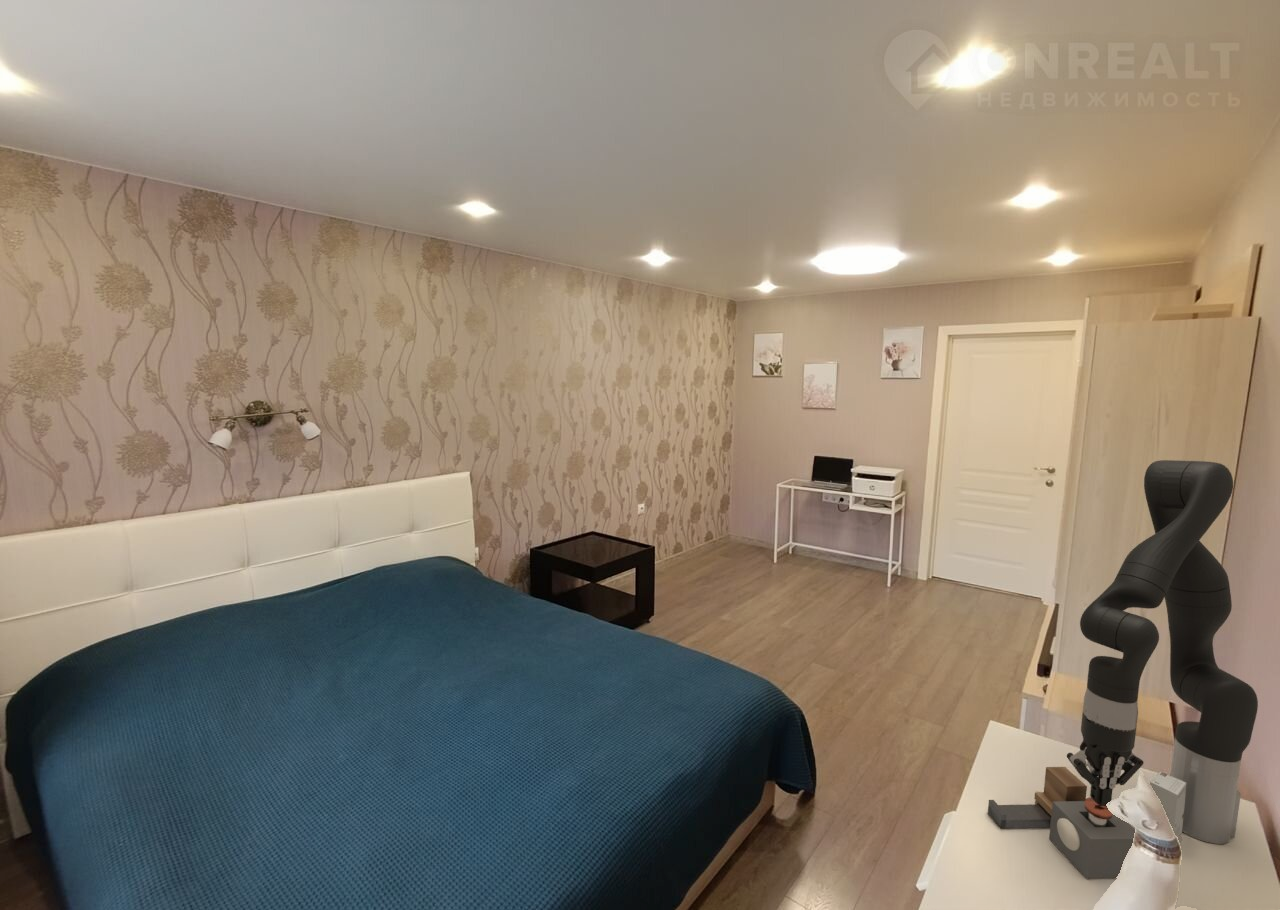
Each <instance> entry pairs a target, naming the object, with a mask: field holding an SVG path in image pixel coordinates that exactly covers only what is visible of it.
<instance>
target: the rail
mask: <svg viewBox="0 0 1280 910" xmlns="http://www.w3.org/2000/svg"><path fill="white" fill-rule="evenodd" d="M987 815H988V816H989V817H990V819H991V820H992V821H993V822H994V823H995V825H996V826H997V827H998V828H999V829H1000V830H1027V829H1029V830H1030V829H1031V830H1033V829H1035V830H1036V829H1037V830H1038V829H1050V824H1051V815H1050V814H1049V813H1048V812H1047V811H1046V810H1045V809H1044V808H1043V807H1042V806H1041V805H1040V804H1035V803H1034V804H1033V803H1032V804H998V803H997V802H996V801H995V799H988V807H987Z"/></svg>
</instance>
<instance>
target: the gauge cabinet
mask: <svg viewBox="0 0 1280 910" xmlns="http://www.w3.org/2000/svg"><path fill="white" fill-rule="evenodd" d="M1088 815H1089V812H1088V811H1087V810H1086V809H1085V801H1058V802H1053V804H1052V814H1051V824H1050V828H1049V835H1048V839H1049V840H1050V841H1051V843H1052V844H1053V845H1054V846H1055V847H1056V848H1057V849H1058V850H1059V852H1060V853H1062V855H1064V857H1065V858H1066V859H1067V860H1068V861H1069V862H1070V863H1071V865H1072V866H1073V867H1074V868H1076V870H1077V871H1078V872H1079V873H1080V874H1081V876H1083V877H1084V879H1086V880H1103V879H1104V880H1116V879H1115V878H1116V877H1117V876H1118V874H1119V873H1120V870H1121V867H1122V864H1123V861H1124V859H1125V857H1126V855H1127V853H1128V851H1129V849H1130V848H1131V846H1132V843H1133V838H1134V833H1135V829H1136V828H1135V827H1134V826H1133V825H1132V824H1130V823H1129V822H1128V821H1127V822H1128V823H1127V822H1125V821H1123V820H1121V819H1120V818H1118V817H1116V816H1115V815H1112V818H1111V819H1109V820H1107V822H1106V827H1094V826H1093V825H1092V824H1091V823H1090V822H1089V821H1088Z"/></svg>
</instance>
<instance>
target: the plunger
mask: <svg viewBox="0 0 1280 910" xmlns="http://www.w3.org/2000/svg"><path fill="white" fill-rule="evenodd" d="M1085 809H1086V810H1087V811H1088V812H1089V815H1088V821H1089V822H1090V823H1091V824H1092V825H1093V826H1094V827H1106V822H1107V820H1109V819H1111V818H1112V815H1113V814H1112V813H1111V812H1110V811H1109V810H1108V808H1107V806H1099V805H1098V804H1097V803H1096V802H1095V801H1094V800H1093V799H1092V798H1091V796H1090V797H1086V799H1085Z"/></svg>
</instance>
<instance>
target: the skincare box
mask: <svg viewBox="0 0 1280 910" xmlns="http://www.w3.org/2000/svg"><path fill="white" fill-rule="evenodd" d="M1152 777H1153V778H1152V779H1151V780H1150V781H1149V783H1150V785H1151V786H1152V788H1153V790H1154V791H1155V793H1156V795H1157V796H1158V798H1159V799H1160V801H1161V804H1162V805H1163V808H1164V810H1165V812H1166V815H1167V817H1168V819H1169V822H1170V824H1171V826H1172V828H1173V831H1174V833H1175V835H1176V836H1177V837H1178V840H1179V842H1180V843H1181V841H1182V835H1183V831H1182V827H1183V816H1184V806H1185V793H1186V782H1184V781H1181V780H1179V779H1177V778H1174V777H1172V776H1170V775H1169V774H1168V773H1167V774H1166V773H1164V772H1162V771H1158V772H1157V773H1156V774H1154V776H1152Z"/></svg>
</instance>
